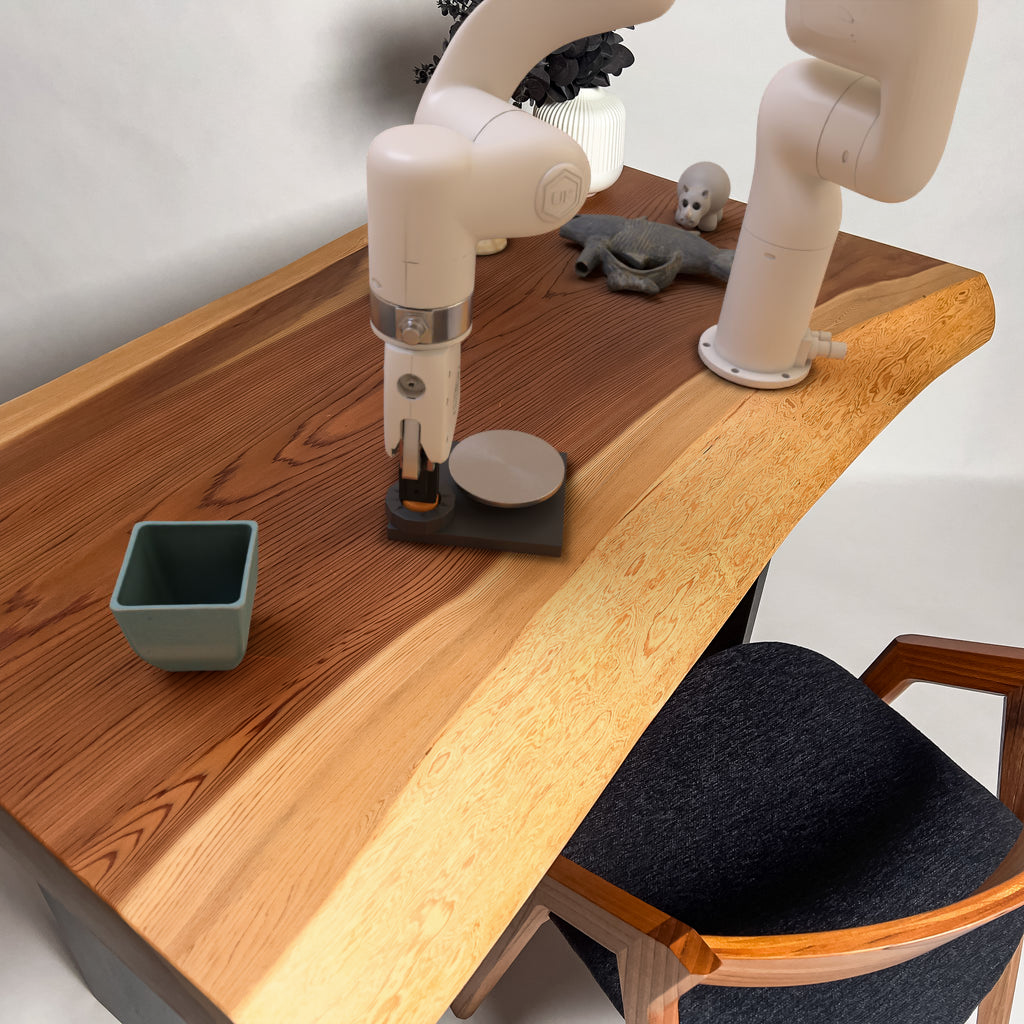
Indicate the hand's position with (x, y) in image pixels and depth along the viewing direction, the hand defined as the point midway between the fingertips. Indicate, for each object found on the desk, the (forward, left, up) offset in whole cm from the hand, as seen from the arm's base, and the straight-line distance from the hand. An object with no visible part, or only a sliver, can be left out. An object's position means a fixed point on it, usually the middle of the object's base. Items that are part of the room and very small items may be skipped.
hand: (419, 495), depth 82 cm
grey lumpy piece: (-21, -51, -4) cm, 55 cm away
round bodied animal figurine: (-28, -65, -4) cm, 71 cm away
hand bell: (+1, -55, -4) cm, 55 cm away
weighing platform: (-7, -5, 0) cm, 9 cm away
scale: (-5, -4, -3) cm, 7 cm away
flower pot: (+14, +16, -4) cm, 21 cm away
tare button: (0, 0, -2) cm, 2 cm away
